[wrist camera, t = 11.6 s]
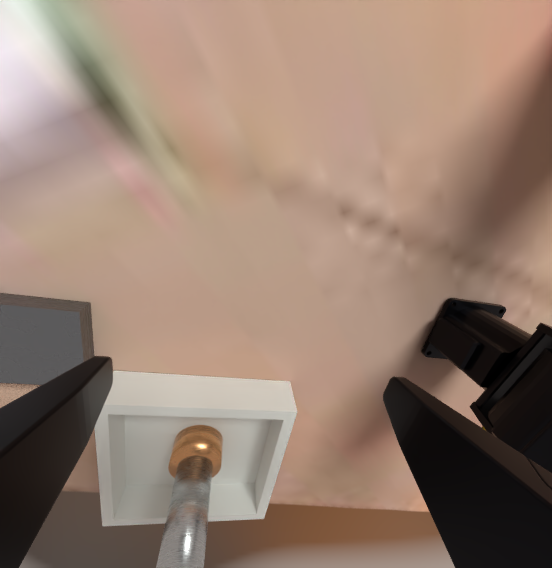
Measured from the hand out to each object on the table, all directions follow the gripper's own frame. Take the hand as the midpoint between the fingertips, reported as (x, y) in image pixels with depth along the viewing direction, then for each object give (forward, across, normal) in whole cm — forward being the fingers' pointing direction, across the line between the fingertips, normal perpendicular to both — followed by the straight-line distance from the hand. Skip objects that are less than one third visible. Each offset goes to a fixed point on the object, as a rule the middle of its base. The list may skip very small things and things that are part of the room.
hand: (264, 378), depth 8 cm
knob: (+12, +2, +20) cm, 24 cm away
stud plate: (+13, +15, +9) cm, 22 cm away
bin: (+13, +2, +20) cm, 24 cm away
